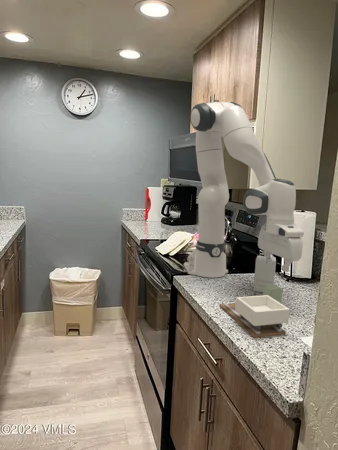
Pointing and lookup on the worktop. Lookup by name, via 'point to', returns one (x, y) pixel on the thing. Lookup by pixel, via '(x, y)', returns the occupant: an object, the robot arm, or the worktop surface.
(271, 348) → the worktop surface
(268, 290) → the block
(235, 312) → the track
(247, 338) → the worktop surface
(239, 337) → the worktop surface
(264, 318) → the square white tray
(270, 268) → the supplement box
